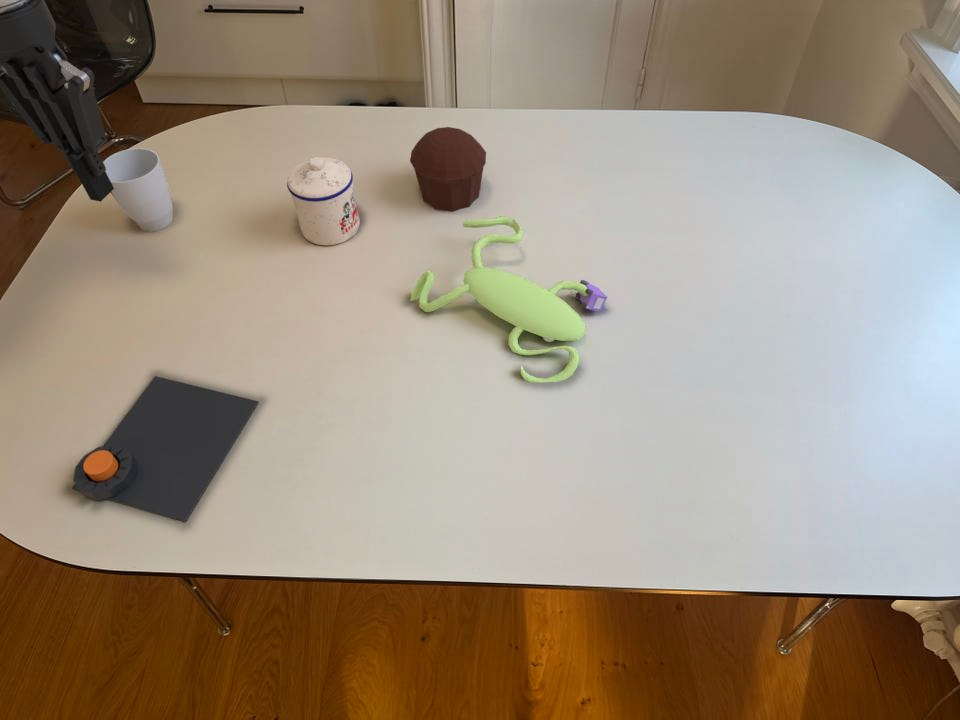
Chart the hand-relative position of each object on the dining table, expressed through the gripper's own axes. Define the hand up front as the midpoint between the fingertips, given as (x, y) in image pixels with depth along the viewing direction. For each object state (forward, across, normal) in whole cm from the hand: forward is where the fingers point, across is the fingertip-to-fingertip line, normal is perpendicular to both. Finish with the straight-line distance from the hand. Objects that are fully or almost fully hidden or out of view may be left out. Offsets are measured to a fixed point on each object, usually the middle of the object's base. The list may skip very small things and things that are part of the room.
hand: (102, 193), depth 88 cm
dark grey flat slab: (+14, -20, +23) cm, 34 cm away
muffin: (+15, -34, -30) cm, 48 cm away
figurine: (+15, -50, -10) cm, 53 cm away
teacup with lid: (+15, -20, -19) cm, 31 cm away
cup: (+15, +6, -11) cm, 19 cm away
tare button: (+12, -16, +29) cm, 35 cm away
